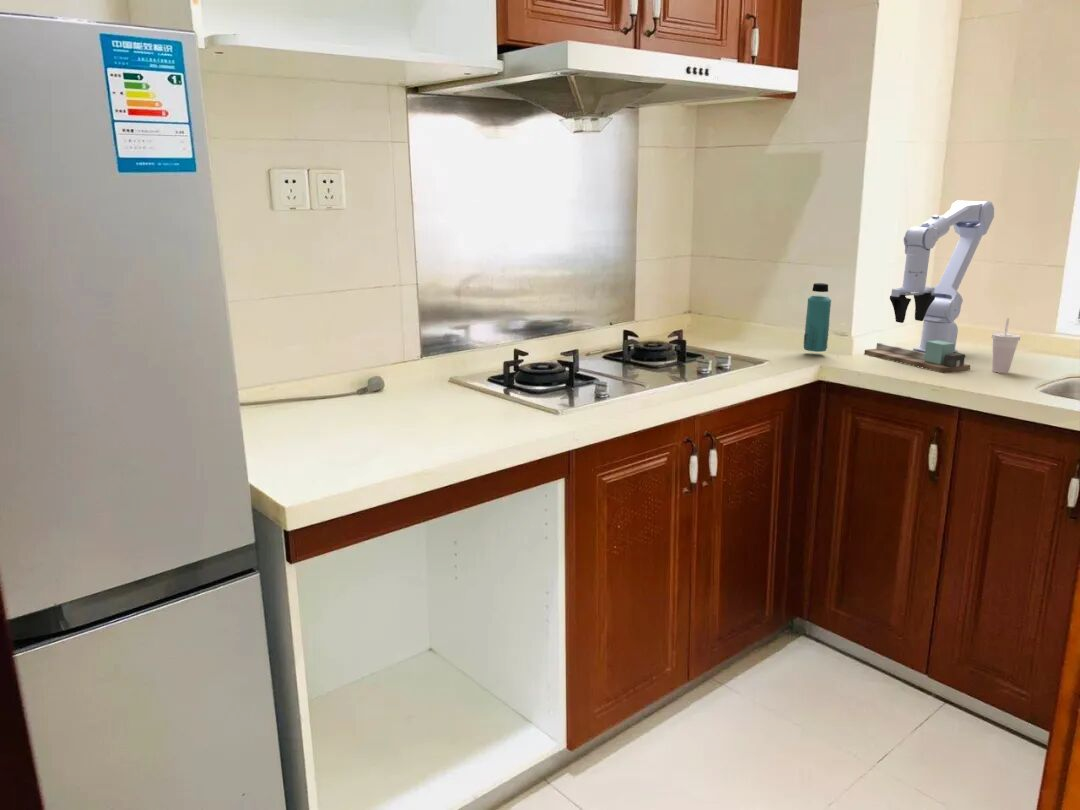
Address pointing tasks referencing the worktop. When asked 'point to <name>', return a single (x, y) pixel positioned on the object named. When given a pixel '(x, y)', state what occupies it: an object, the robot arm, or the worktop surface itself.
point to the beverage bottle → (817, 320)
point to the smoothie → (1003, 350)
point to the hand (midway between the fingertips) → (909, 321)
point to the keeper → (937, 351)
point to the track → (918, 358)
